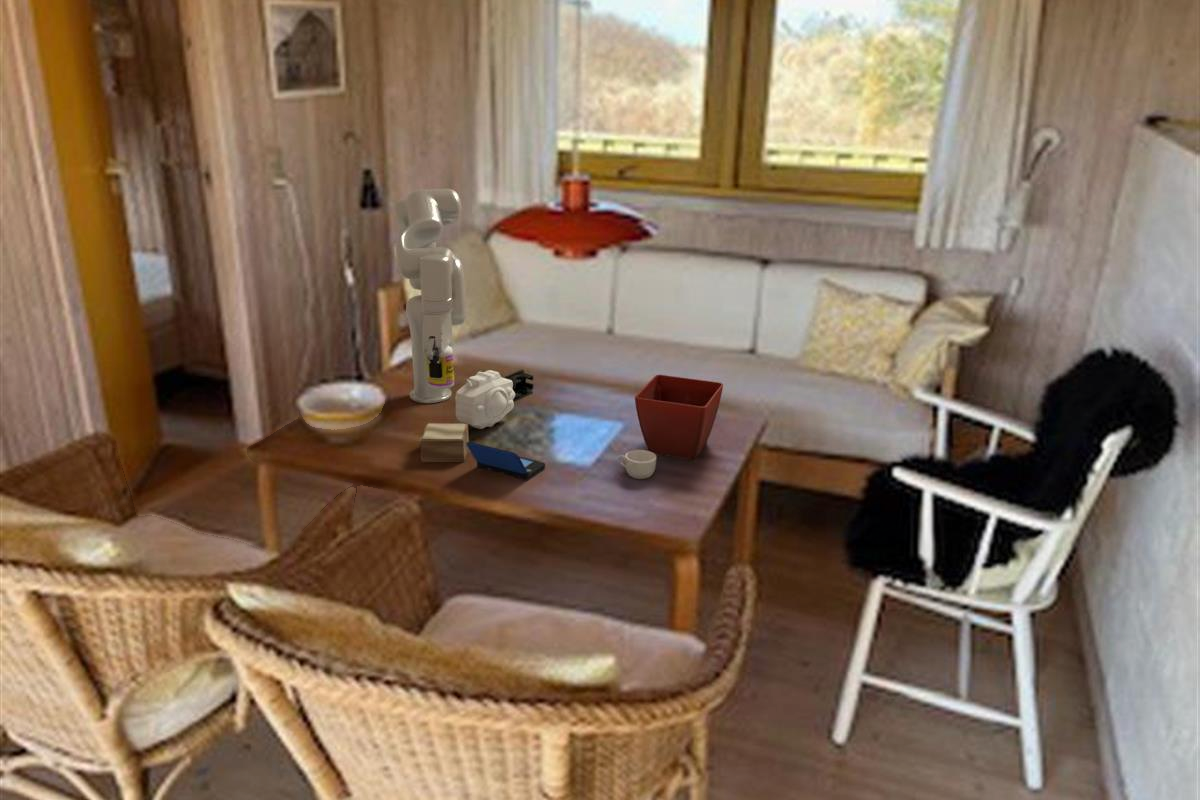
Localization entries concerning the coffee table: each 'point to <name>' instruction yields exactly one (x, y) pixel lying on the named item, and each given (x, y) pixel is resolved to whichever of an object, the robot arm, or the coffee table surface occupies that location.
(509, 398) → the camera
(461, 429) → the pale wooden block
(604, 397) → the coffee table surface
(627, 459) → the teacup
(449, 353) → the supplement bottle
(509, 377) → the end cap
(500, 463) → the handheld game console
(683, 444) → the plant pot
